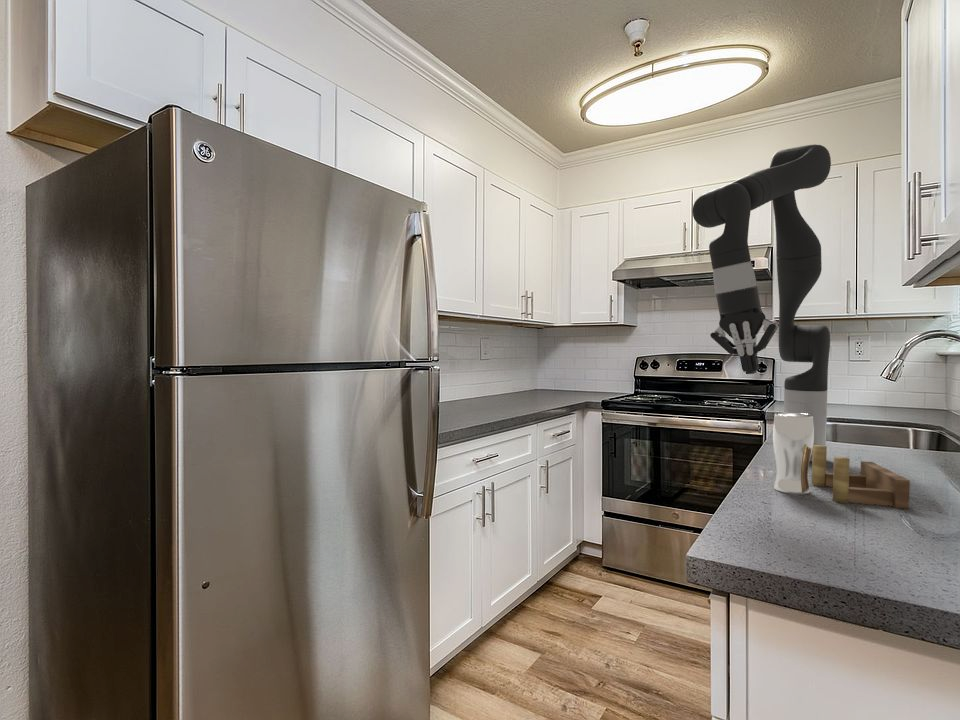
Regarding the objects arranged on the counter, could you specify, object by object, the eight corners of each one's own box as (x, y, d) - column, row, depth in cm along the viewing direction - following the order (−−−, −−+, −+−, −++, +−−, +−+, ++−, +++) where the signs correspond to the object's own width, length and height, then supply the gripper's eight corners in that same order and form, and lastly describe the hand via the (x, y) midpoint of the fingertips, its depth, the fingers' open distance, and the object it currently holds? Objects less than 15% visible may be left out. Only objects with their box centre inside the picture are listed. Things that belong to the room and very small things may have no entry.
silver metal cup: (772, 483, 112) (774, 411, 111) (812, 488, 108) (814, 413, 108) (770, 491, 106) (772, 415, 105) (812, 497, 102) (814, 417, 102)
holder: (809, 482, 113) (810, 444, 113) (871, 486, 110) (872, 447, 110) (836, 503, 98) (837, 459, 98) (908, 508, 96) (910, 463, 95)
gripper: (777, 279, 106) (792, 366, 107) (709, 293, 115) (724, 372, 116) (766, 282, 101) (782, 373, 102) (695, 296, 110) (711, 380, 111)
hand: (751, 373), depth 109 cm, fingers closed
